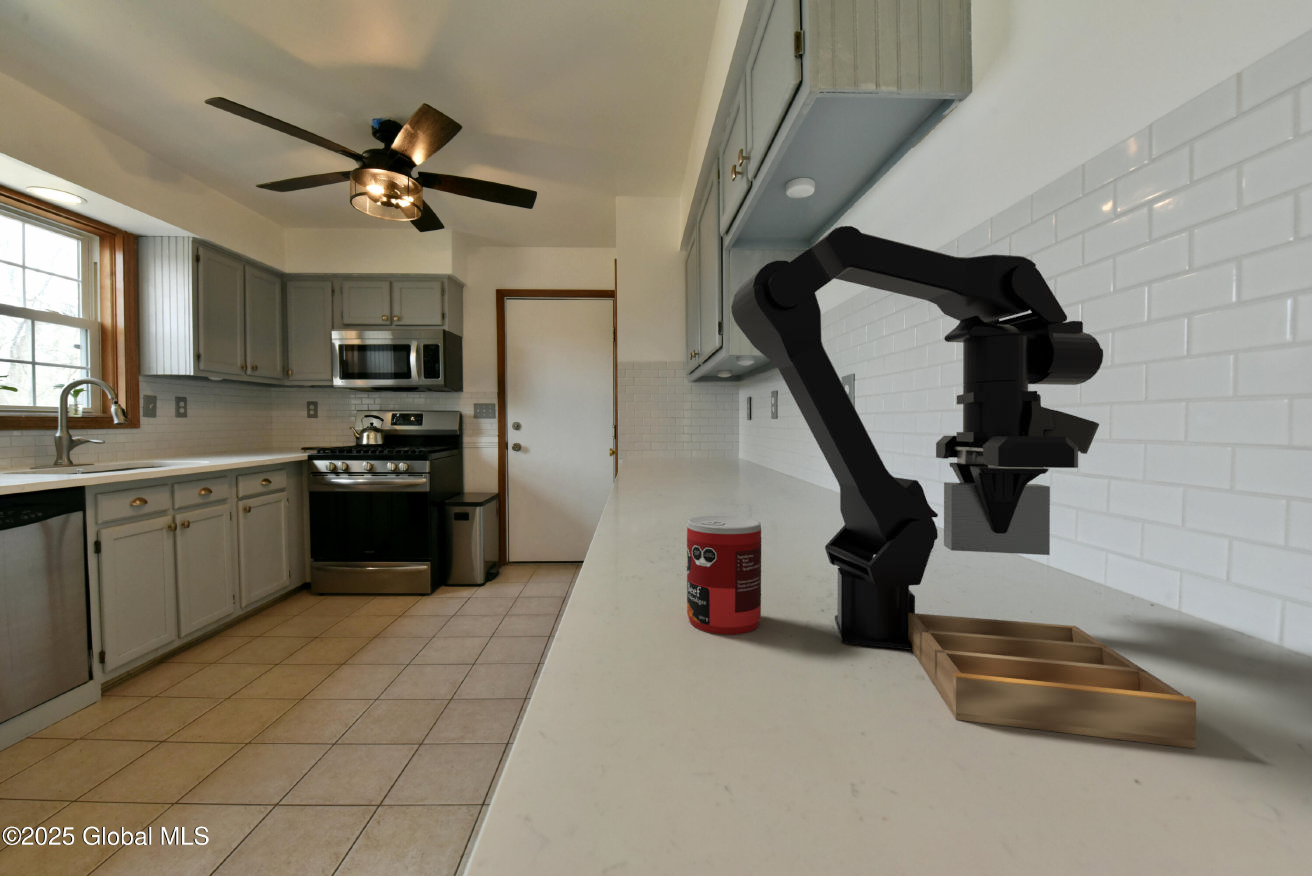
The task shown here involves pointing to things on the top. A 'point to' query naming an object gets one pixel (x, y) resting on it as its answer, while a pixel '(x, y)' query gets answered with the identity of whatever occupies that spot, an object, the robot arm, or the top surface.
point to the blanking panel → (975, 533)
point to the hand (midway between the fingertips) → (994, 530)
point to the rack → (1047, 680)
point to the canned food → (724, 574)
